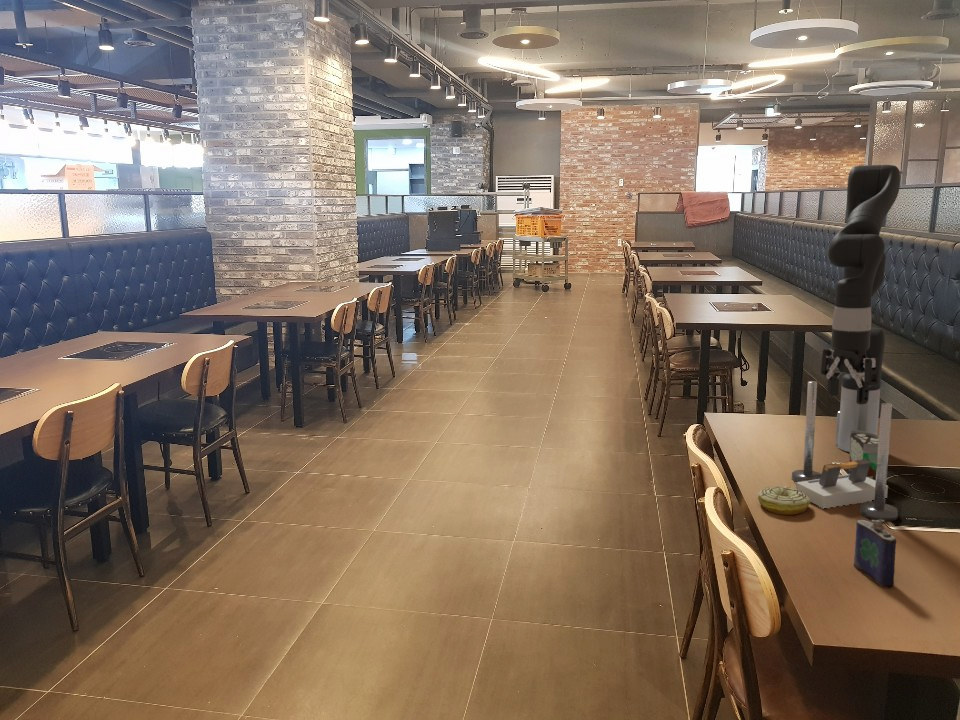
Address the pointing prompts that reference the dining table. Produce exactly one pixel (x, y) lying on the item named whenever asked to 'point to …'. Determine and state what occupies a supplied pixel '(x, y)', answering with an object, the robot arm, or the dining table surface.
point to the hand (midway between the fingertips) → (846, 399)
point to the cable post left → (808, 438)
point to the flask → (875, 552)
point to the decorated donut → (783, 500)
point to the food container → (864, 449)
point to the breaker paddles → (833, 470)
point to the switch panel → (839, 492)
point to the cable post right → (881, 473)
